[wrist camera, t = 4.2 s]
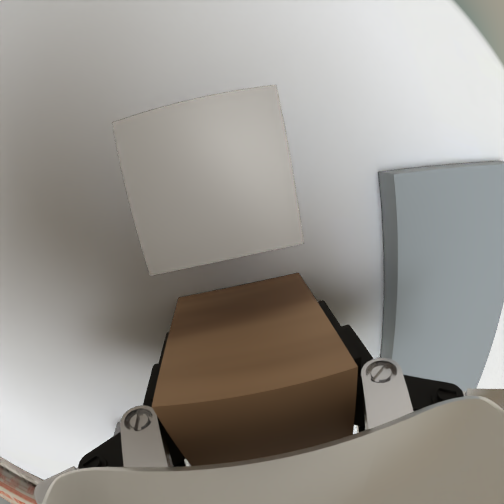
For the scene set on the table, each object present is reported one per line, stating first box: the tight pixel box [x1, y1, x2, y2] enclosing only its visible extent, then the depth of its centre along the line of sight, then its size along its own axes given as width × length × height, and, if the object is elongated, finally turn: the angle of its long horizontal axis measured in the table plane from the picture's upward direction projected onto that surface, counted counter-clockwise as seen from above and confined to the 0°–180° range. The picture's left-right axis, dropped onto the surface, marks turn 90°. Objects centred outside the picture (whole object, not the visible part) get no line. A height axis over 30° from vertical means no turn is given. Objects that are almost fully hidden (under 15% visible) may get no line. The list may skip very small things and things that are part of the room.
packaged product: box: [0, 457, 43, 504], centre depth 16 cm, size 18×5×10 cm
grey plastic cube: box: [112, 85, 304, 276], centre depth 9 cm, size 4×4×4 cm
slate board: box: [378, 161, 504, 391], centre depth 14 cm, size 20×9×1 cm, turn 11°
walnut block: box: [152, 273, 358, 466], centre depth 10 cm, size 5×5×6 cm
